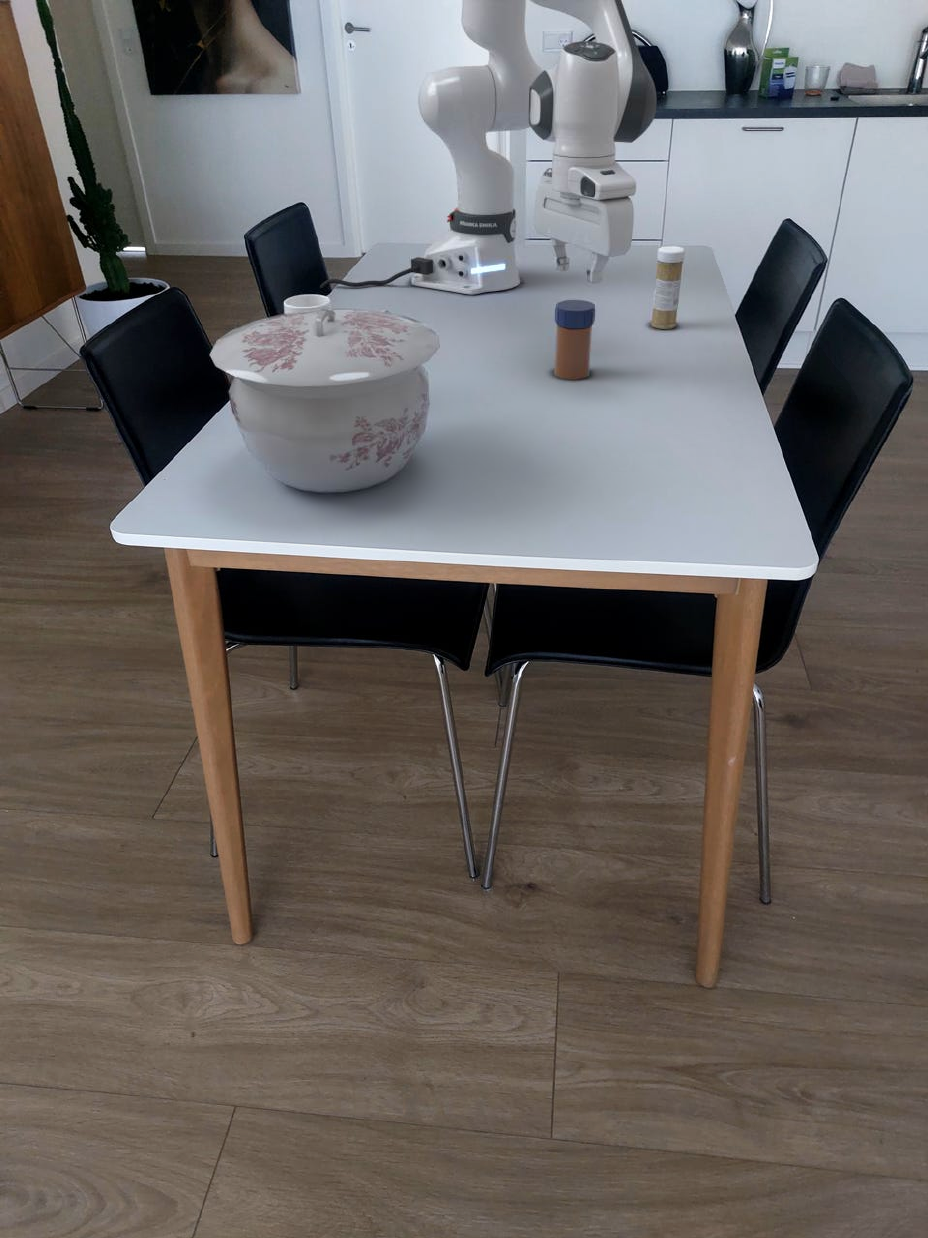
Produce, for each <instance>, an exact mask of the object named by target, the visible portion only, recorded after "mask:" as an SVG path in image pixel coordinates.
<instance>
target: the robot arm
mask: <svg viewBox="0 0 928 1238" xmlns="http://www.w3.org/2000/svg"><path fill="white" fill-rule="evenodd" d="M529 2H532V3H533V4H535V5H537V6H540V7H543V8H545V9H550V10H553V11H557V12H560V13H563V14H566V15H568V16H571V17H573V18H575V19H577V20H579V21H581V22H582V23H584V24H585V25H586V26H587V27H588V28H589V30H591V31H592V33H593V35H594V38H595V40H596V41H591V40H590V41H589V40H587V41H586V40H584V41H583V40H582V41H581V40H580V41H574V42H572V43H567V44H566V45H564V46H563V47H562V48H561V50H560V52H559V56H558V61H557V63H556V64H555V65H554V66H553V67H551V68H548V69H546V70H545V69H543V68H541V66H539V64H538V63H537V62H536V61H535V59H534V58H533V56H532V54H531V52H530V49H529V45H528V42H527V37H526V9H527V8H526V7H527V6H526V5H527V0H462V3H461V5H462V6H461V19H460V21H461V27H462V30H463V31H464V33H465V35H466V36H467V37H468V39H470V40H471V41H472V43H474V44H476V45H477V46H479V47H481V48H482V49H484V50H486V51H488V63H487V64H484V65H465V66H463V65H462V66H449V67H447V68H442V69H438V70H435V71H432V72H429V73H427V75H426V76H425V77H424V79H423V80H422V82H421V85H420V87H419V92H418V95H417V96H418V99H417V101H418V102H417V104H418V110H419V113H420V116H421V118H422V121H423V122H424V124H425V125H426V126H427V127H428V128H429V130H430V131H432V132H433V133H434V134H436V135H437V137H439V138H440V139H441V141H442V142H443V143H444V145H445V146H446V148H447V150H448V151H449V153H450V156H451V158H452V161H453V163H454V168H455V176H456V184H457V185H456V186H457V187H456V188H457V207H455V208H454V209H453V211H451V212H450V213H449V215H447V216H446V218H447V219H446V222H447V223H449V229H448V230H447V231H445V232H444V233H443V234H442V235H441V236H440V237H438V238H437V239H436V240H435V241H433V243H431V244H430V245H429V246H428V247H427V248H426V250H425V251H424V254H423V257H419V256H417V257H413V258H411V259H410V267H409V268H407V269H405V270H401V271H399V272H397V273H395V274H393V275H392V276H390V277H389V278H387V279H383V280H366V281H365V280H364V281H358V282H352V281H347V280H343V279H339V278H329V279H327V280H325V281H324V282H323V283H321V284H320V286H319V288H320V289H321V288H322V289H323V288H326V287H327V286H329V285H331V284H338V285H342V286H345V287H350V288H360V287H367V286H385V285H389V284H391V283H393V282H394V281H396V280H398V279H399V278H401V277H403V276H406V275H409V274H413V275H412V276H411V285H412V286H416V287H422V288H428V289H434V290H440V291H445V292H452V293H458V294H465V295H479V294H482V293H489V292H490V293H491V292H498V291H505V290H510V289H513V288H515V287H518V286H519V285H520V284H521V279H520V275H519V271H518V270H519V269H518V265H517V260H516V259H517V257H516V250H515V240H516V235H517V215H516V213H517V211H516V209H515V207H514V205H515V203H514V200H515V171H514V167H513V165H512V164H511V162H510V160H509V159H508V158H506V157H505V156H504V155H501V154H499V153H498V152H496V151H495V150H492V149H490V148H489V146H488V143H487V134H488V133H494V132H495V133H497V132H511V131H523V130H524V129H529V128H531V130H532V131H533V132H534V134H536V135H537V136H538V138H540V139H541V140H543V141H547V142H549V143H554V144H553V148H552V157H551V159H552V161H551V162H552V163H551V167H547V168H546V170H545V171H544V172H543V174H542V175H540V184H539V185H538V187H537V190H536V193H535V195H536V196H535V201H534V202H535V203H534V211H533V227H534V230H535V232H536V233H537V234H539V235H542V236H545V237H548V238H550V248H551V252H552V255H553V257H554V264H553V266H554V269H555V270H557V271H560V272H563V271H565V272H566V271H568V270H569V269H570V262H571V261H570V257H568V256H567V255H568V254H567V250H566V249H567V248H566V245H567V244H569V245H571V246H574V247H576V248H580V249H583V250H586V251H590V252H591V260H593V262H592V265H591V266H590V268H587V269H586V281H587V282H589V283H591V284H600V283H601V282H602V281H603V271H604V269H605V267H606V265H607V263H608V261H609V259H610V258H615V257H621V256H625V255H627V254H628V252H629V250H630V249H631V246H632V241H633V232H634V218H635V217H634V216H635V209H634V203H633V201H632V198H631V197H633V196H635V194H636V193H637V192H636V191H637V181H636V179H635V178H634V177H632V175H630V174H629V173H628V172H627V171H626V170H625V169H623V167H622V166H621V165H620V164H619V162H616V151H617V149H616V145H615V143H625V144H627V143H628V144H631V143H634V142H635V141H636V140H638V139H639V138H640V137H641V136H642V135H643V134H644V133H645V132H646V131H647V130H648V129H649V127H650V126H651V125H652V124H653V121H654V120H655V116H656V112H657V102H658V101H657V90H656V86H655V83H654V80H653V78H652V75H651V73H650V72H649V70H648V68H647V66H646V64H645V63H644V61H643V59H642V56H641V53H640V51H639V48H638V45H637V42H636V40H635V36H634V33H633V30H632V27H631V24H630V21H629V18H628V15H627V12H626V9H625V6H624V4H623V0H529Z"/></svg>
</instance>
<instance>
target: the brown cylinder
mask: <svg viewBox="0 0 928 1238" xmlns="http://www.w3.org/2000/svg"><path fill="white" fill-rule="evenodd" d="M592 334H593V325H592V326H590V327H586V328H565V327H561V326H559V325H557V324H556V329H555V351H554V352H555V353H554V354H555V355H554V375H555V376H556V377H557V378H558V379H562V380H570V381H577V380H583V379H586V378H588V377H589V375H590V367H591V366H590V365H591V352H592V351H591V350H592V336H593V335H592Z"/></svg>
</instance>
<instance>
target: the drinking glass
mask: <svg viewBox="0 0 928 1238" xmlns="http://www.w3.org/2000/svg"><path fill="white" fill-rule="evenodd" d="M331 302H332V301H331V299H330V297H327V296H326V295H321V294H299V295H294V296H291V297H288V298H286V299H285V300H284V301H283V312H284V313H283V314H286V313H292V312H300V311H308V310H316V309H323V308H331V309H333V308H332V303H331Z"/></svg>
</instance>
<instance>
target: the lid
mask: <svg viewBox="0 0 928 1238" xmlns="http://www.w3.org/2000/svg"><path fill="white" fill-rule="evenodd" d="M554 309H555V310H554V322H555V323H554V324H556V326H557V325H559V326H561V327H565V328H586V327H590V326H592V327H593V325H594V324H595V319H596V305H595V303H593V302H591V301H588V300H583V299H566V300H561V301H559V302H557V303H556V304H555V308H554Z"/></svg>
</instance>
